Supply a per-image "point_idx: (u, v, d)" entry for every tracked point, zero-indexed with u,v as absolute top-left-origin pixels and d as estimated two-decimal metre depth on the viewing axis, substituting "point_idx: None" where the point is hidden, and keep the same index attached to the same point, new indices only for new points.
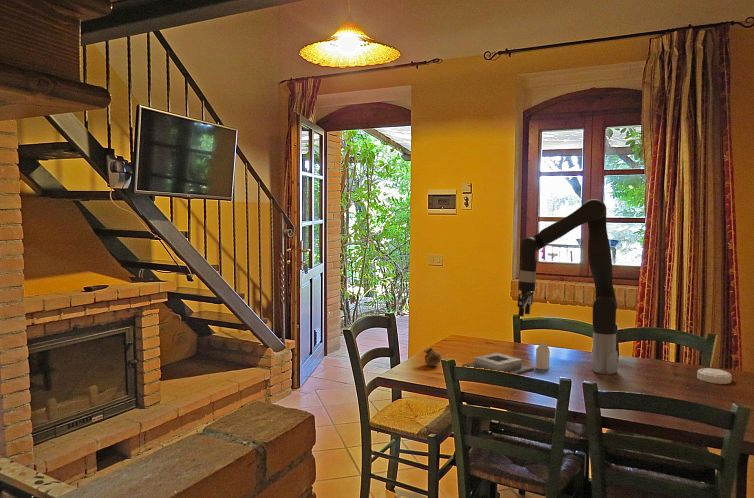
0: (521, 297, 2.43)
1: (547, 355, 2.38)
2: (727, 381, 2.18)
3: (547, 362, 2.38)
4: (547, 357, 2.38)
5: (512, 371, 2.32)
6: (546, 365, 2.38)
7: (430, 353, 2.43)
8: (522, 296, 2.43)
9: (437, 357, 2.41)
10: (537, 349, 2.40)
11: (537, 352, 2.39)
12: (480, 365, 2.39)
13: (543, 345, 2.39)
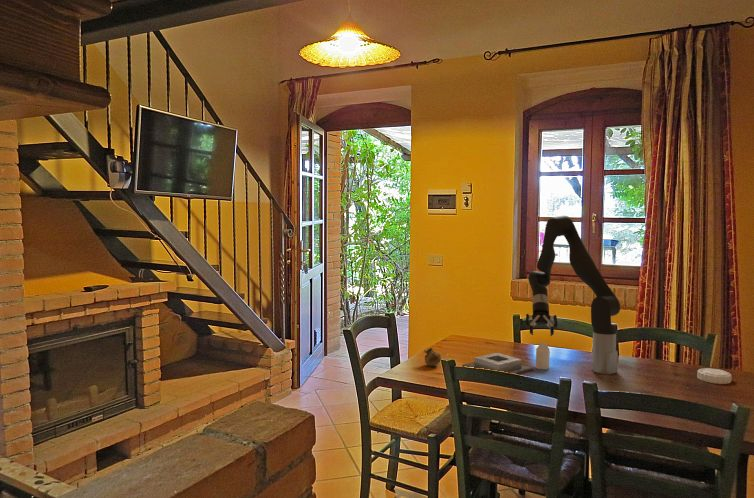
0: (526, 317, 2.55)
1: (547, 355, 2.38)
2: (727, 381, 2.18)
3: (547, 362, 2.38)
4: (547, 357, 2.38)
5: (512, 371, 2.32)
6: (546, 365, 2.38)
7: (430, 353, 2.43)
8: (526, 316, 2.55)
9: (437, 357, 2.41)
10: (537, 349, 2.40)
11: (537, 352, 2.39)
12: (480, 365, 2.39)
13: (543, 345, 2.39)
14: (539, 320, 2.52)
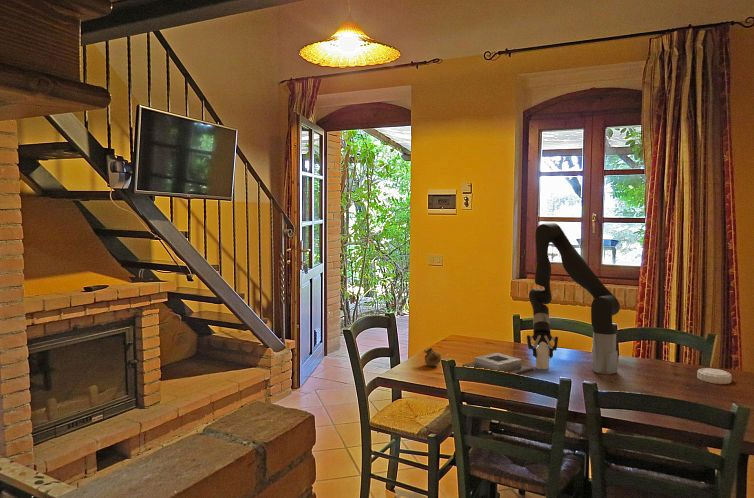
0: (527, 339, 2.45)
1: (547, 355, 2.38)
2: (727, 381, 2.18)
3: (547, 362, 2.38)
4: (547, 357, 2.38)
5: (512, 371, 2.32)
6: (546, 365, 2.38)
7: (430, 353, 2.43)
8: None
9: (437, 357, 2.41)
10: (537, 349, 2.40)
11: (537, 352, 2.39)
12: (480, 365, 2.39)
13: (543, 345, 2.39)
14: (541, 340, 2.43)
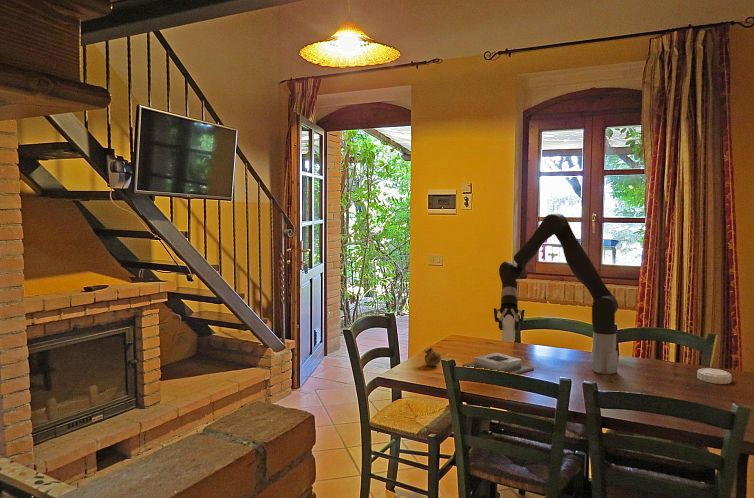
0: None
1: (512, 328, 2.37)
2: (727, 381, 2.18)
3: (512, 335, 2.38)
4: (512, 330, 2.37)
5: (512, 371, 2.32)
6: (512, 337, 2.38)
7: (430, 353, 2.43)
8: None
9: (437, 357, 2.41)
10: (503, 322, 2.39)
11: (503, 325, 2.39)
12: (480, 365, 2.39)
13: (509, 318, 2.38)
14: (507, 313, 2.42)
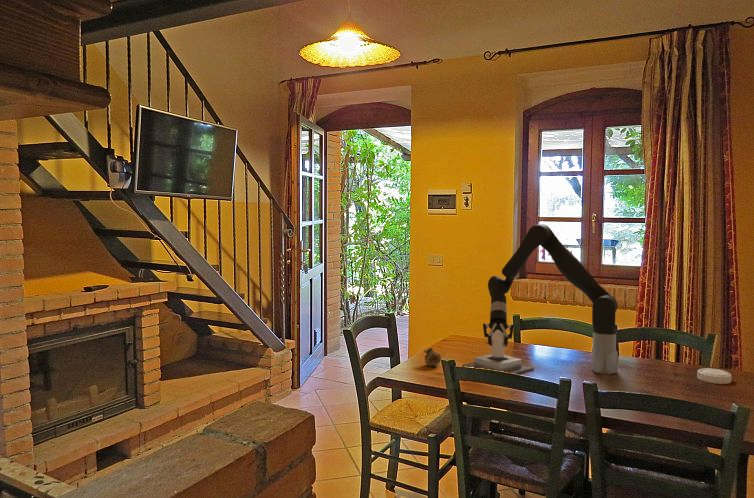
0: (483, 327, 2.44)
1: (502, 343, 2.37)
2: (727, 381, 2.18)
3: (502, 350, 2.37)
4: (502, 345, 2.37)
5: (512, 371, 2.32)
6: (501, 353, 2.37)
7: (430, 353, 2.43)
8: (483, 325, 2.44)
9: (437, 357, 2.41)
10: (492, 337, 2.39)
11: (492, 340, 2.38)
12: (480, 365, 2.39)
13: (498, 333, 2.38)
14: (497, 329, 2.42)
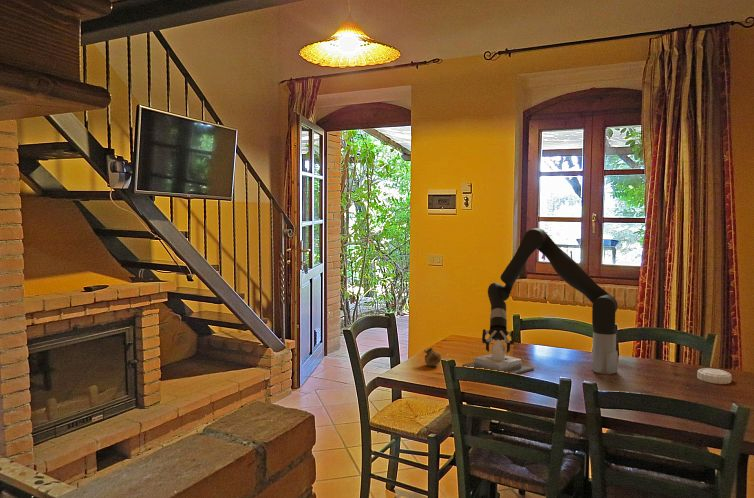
0: None
1: (502, 353, 2.37)
2: (727, 381, 2.18)
3: (502, 360, 2.38)
4: (502, 355, 2.37)
5: (512, 371, 2.32)
6: None
7: (430, 353, 2.43)
8: None
9: (437, 357, 2.41)
10: (492, 347, 2.39)
11: (492, 350, 2.39)
12: (480, 365, 2.39)
13: (498, 343, 2.38)
14: (496, 336, 2.42)
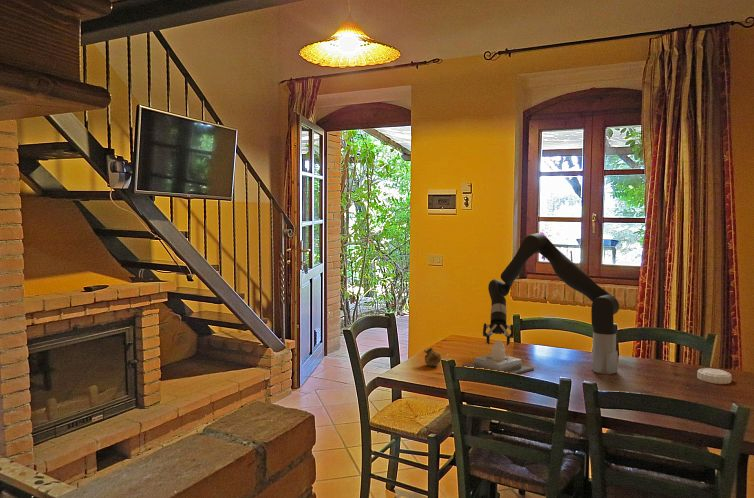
0: None
1: (502, 353, 2.37)
2: (727, 381, 2.18)
3: (502, 360, 2.38)
4: (502, 355, 2.37)
5: (512, 371, 2.32)
6: None
7: (430, 353, 2.43)
8: None
9: (437, 357, 2.41)
10: (492, 347, 2.39)
11: (492, 350, 2.39)
12: (480, 365, 2.39)
13: (498, 343, 2.38)
14: (496, 329, 2.54)
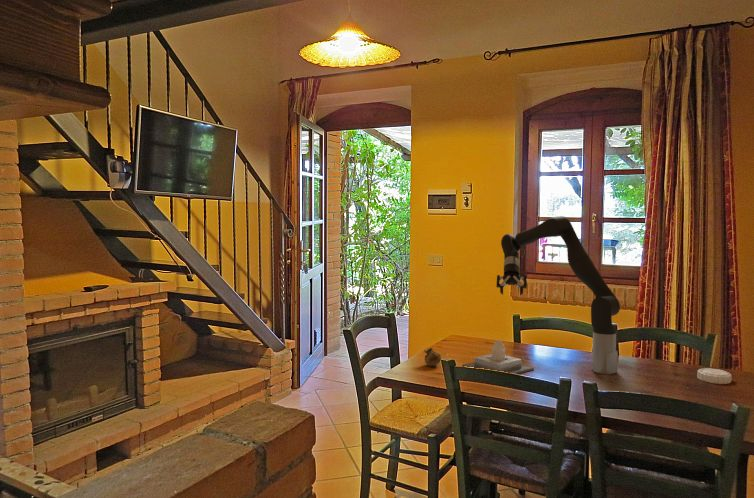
0: (497, 278, 2.63)
1: (502, 353, 2.37)
2: (727, 381, 2.18)
3: (502, 360, 2.38)
4: (502, 355, 2.37)
5: (512, 371, 2.32)
6: None
7: (430, 353, 2.43)
8: (497, 277, 2.63)
9: (437, 357, 2.41)
10: (492, 347, 2.39)
11: (492, 350, 2.39)
12: (480, 365, 2.39)
13: (498, 343, 2.38)
14: (509, 280, 2.60)
